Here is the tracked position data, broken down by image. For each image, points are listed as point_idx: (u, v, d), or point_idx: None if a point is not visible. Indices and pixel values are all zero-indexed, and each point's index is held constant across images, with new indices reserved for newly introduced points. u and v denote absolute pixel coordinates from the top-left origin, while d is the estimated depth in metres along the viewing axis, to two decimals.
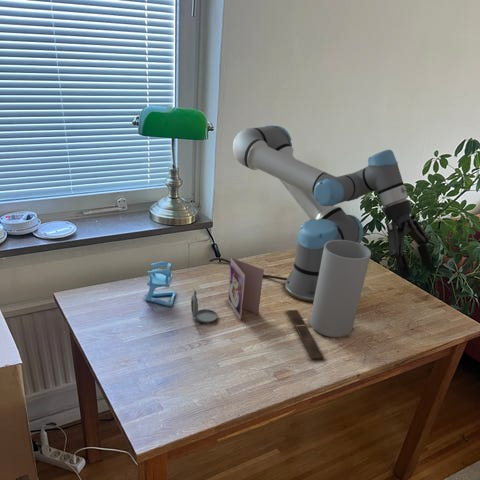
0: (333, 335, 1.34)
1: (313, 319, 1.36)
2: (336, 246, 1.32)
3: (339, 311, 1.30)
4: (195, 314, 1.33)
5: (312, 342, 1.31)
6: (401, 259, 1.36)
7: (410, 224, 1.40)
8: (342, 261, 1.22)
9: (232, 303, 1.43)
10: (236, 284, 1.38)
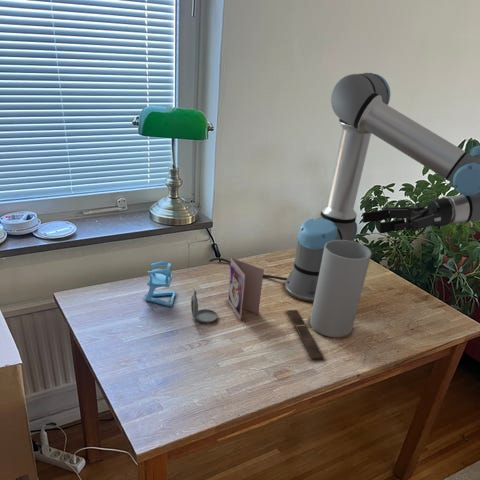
0: (333, 335, 1.34)
1: (313, 319, 1.36)
2: (336, 246, 1.32)
3: (339, 311, 1.30)
4: (195, 314, 1.33)
5: (312, 342, 1.31)
6: None
7: None
8: (343, 261, 1.22)
9: (232, 303, 1.43)
10: (236, 284, 1.38)
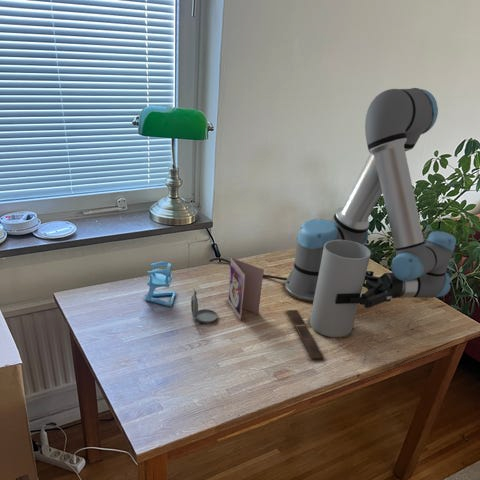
0: (333, 335, 1.34)
1: (313, 319, 1.36)
2: (336, 246, 1.32)
3: (339, 311, 1.30)
4: (195, 314, 1.33)
5: (312, 342, 1.31)
6: None
7: None
8: (342, 261, 1.22)
9: (232, 303, 1.43)
10: (236, 284, 1.38)
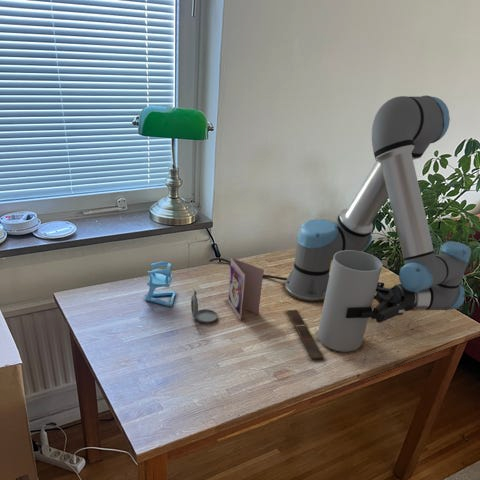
0: (342, 350, 1.29)
1: (321, 333, 1.31)
2: (345, 257, 1.27)
3: (349, 325, 1.24)
4: (195, 314, 1.33)
5: (312, 342, 1.31)
6: None
7: None
8: (353, 273, 1.16)
9: (232, 303, 1.43)
10: (236, 284, 1.38)
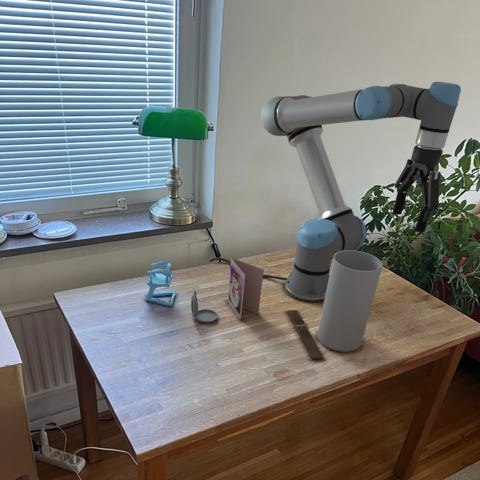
0: (342, 350, 1.29)
1: (321, 333, 1.31)
2: (345, 257, 1.27)
3: (349, 325, 1.24)
4: (195, 314, 1.33)
5: (312, 342, 1.31)
6: None
7: None
8: (353, 273, 1.16)
9: (232, 303, 1.43)
10: (236, 284, 1.38)
